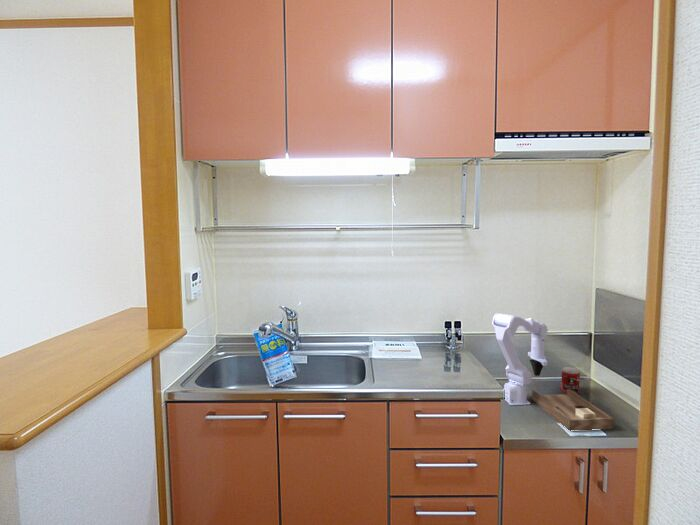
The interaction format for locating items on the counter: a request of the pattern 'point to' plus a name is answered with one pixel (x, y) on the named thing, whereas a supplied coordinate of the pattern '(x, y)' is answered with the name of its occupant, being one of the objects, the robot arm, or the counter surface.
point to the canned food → (570, 379)
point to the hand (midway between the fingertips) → (536, 375)
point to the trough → (572, 411)
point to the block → (584, 413)
